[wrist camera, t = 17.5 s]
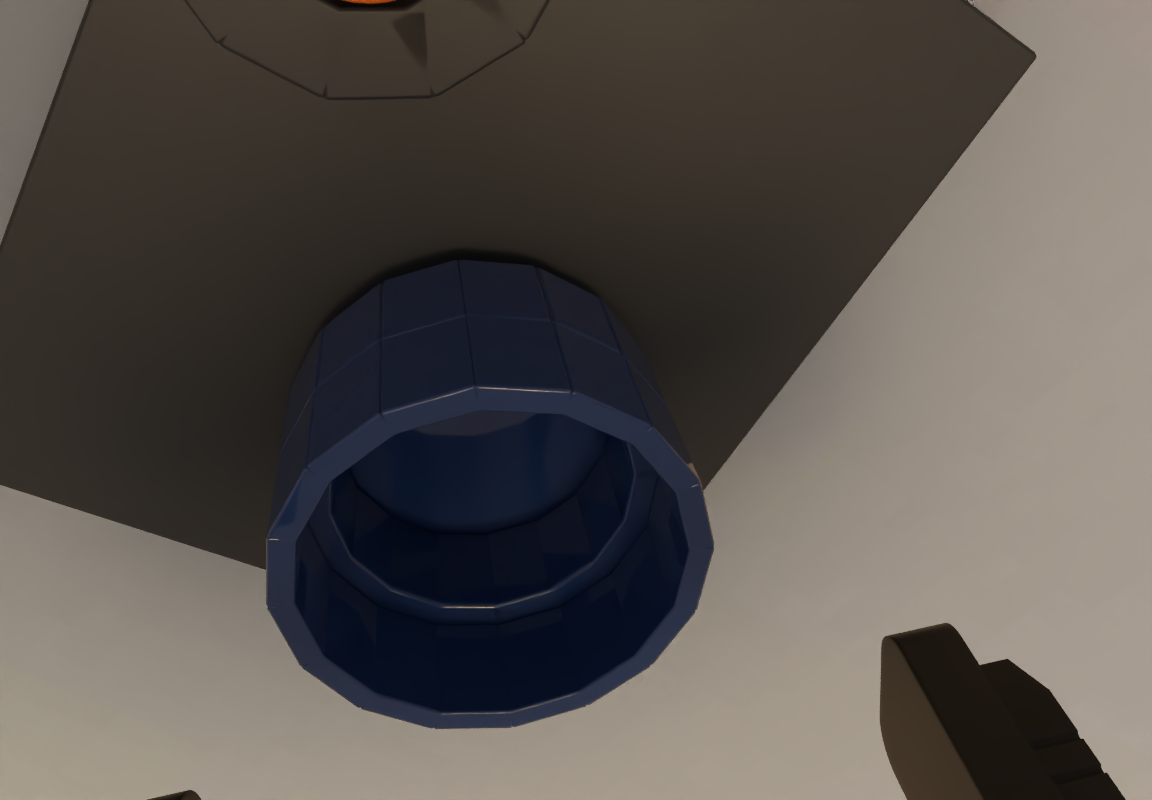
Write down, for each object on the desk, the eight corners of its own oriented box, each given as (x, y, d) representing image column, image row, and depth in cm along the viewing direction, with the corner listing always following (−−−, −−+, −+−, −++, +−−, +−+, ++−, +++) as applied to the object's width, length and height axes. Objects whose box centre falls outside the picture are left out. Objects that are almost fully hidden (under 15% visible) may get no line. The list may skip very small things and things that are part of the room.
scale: (266, -511, 13) (237, -579, 10) (997, 36, 18) (1097, 80, 15) (-64, 412, 18) (-136, 514, 16) (559, 623, 24) (580, 726, 21)
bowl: (392, 181, 16) (394, 310, 12) (713, 342, 18) (796, 490, 15) (234, 481, 18) (194, 664, 15) (536, 587, 21) (569, 767, 17)
